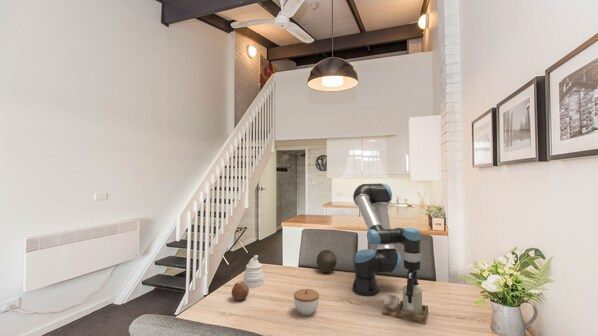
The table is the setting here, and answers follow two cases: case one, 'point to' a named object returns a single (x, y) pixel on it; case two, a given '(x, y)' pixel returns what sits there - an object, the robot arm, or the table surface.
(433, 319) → the table surface
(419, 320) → the caddy
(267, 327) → the table surface
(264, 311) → the table surface
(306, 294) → the lidded bowl
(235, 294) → the onion
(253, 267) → the honey pot
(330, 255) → the cantaloupe
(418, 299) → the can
